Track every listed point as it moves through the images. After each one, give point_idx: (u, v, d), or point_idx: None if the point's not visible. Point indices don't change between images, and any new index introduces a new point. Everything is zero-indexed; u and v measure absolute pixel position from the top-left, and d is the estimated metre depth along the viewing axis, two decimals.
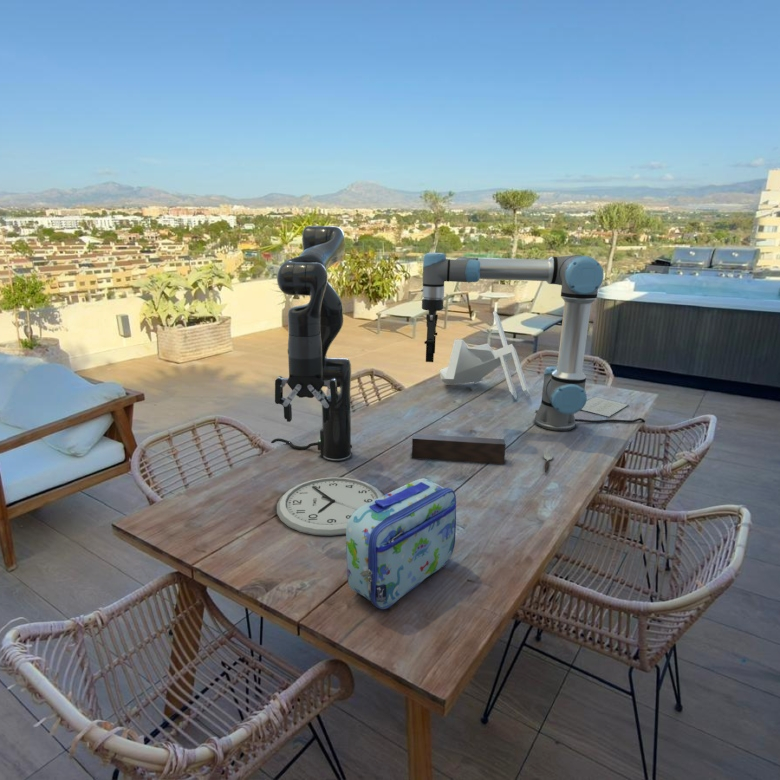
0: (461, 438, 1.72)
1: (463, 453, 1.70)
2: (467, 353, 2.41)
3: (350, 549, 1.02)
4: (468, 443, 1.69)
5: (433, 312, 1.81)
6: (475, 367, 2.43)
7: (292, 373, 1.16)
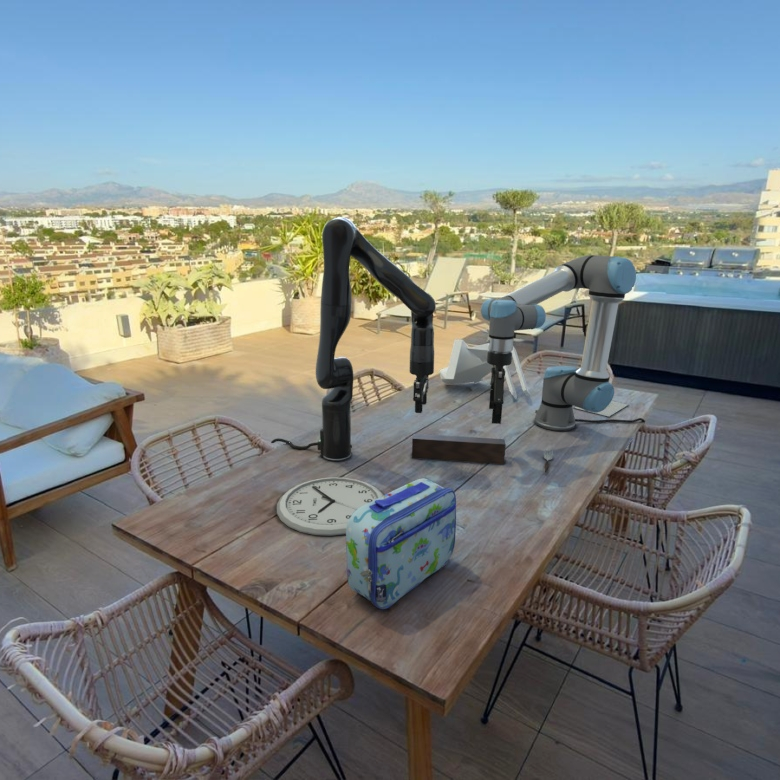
0: (461, 438, 1.72)
1: (463, 453, 1.70)
2: (467, 353, 2.41)
3: (350, 549, 1.02)
4: (468, 443, 1.69)
5: (501, 367, 1.59)
6: (475, 367, 2.43)
7: (429, 373, 1.59)
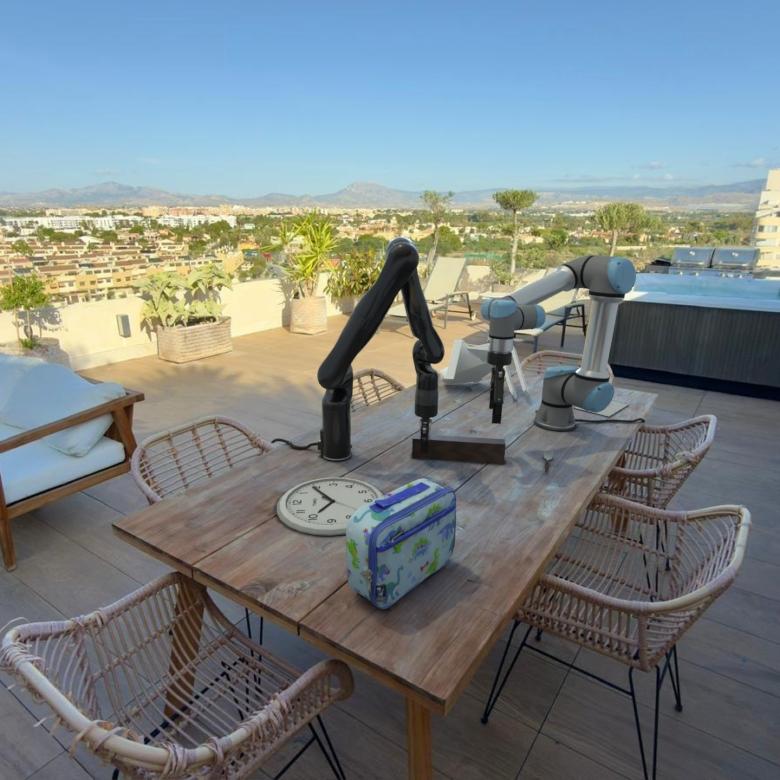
0: (461, 438, 1.72)
1: (463, 453, 1.70)
2: (467, 353, 2.41)
3: (350, 549, 1.02)
4: (468, 443, 1.69)
5: (501, 367, 1.59)
6: (475, 367, 2.43)
7: (434, 415, 1.67)
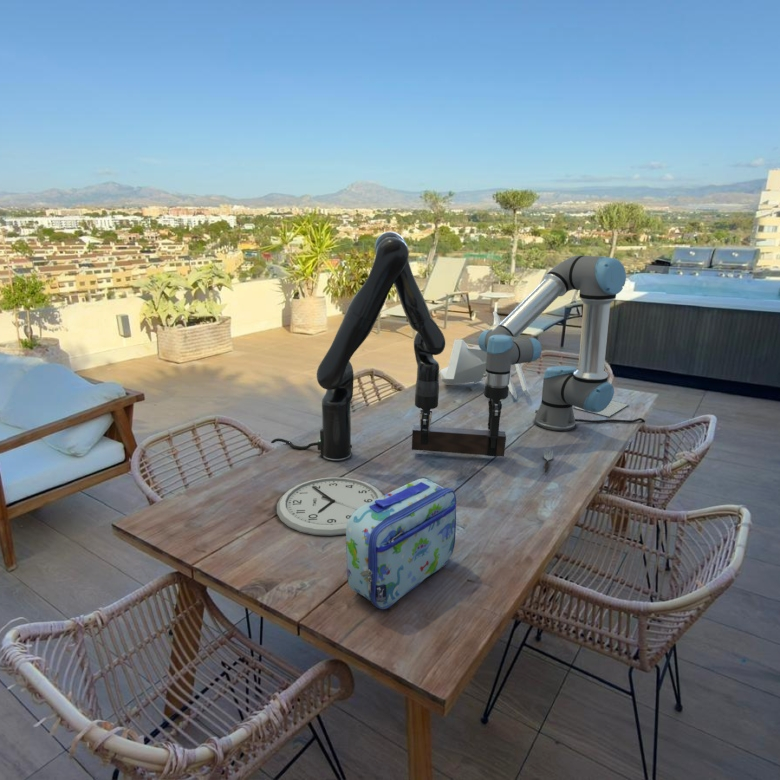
0: (461, 430, 1.71)
1: (464, 445, 1.70)
2: (467, 353, 2.41)
3: (350, 549, 1.02)
4: (469, 435, 1.68)
5: (498, 401, 1.62)
6: (475, 367, 2.43)
7: (435, 406, 1.67)
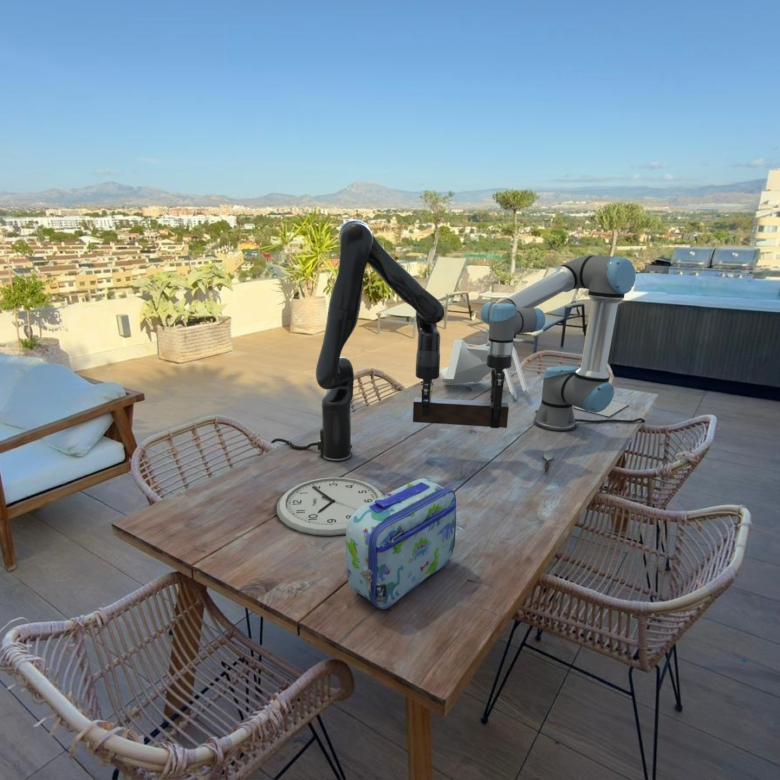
0: (463, 401, 1.68)
1: (466, 416, 1.66)
2: (467, 353, 2.41)
3: (350, 549, 1.02)
4: (471, 406, 1.65)
5: (501, 371, 1.59)
6: (475, 367, 2.43)
7: (436, 377, 1.64)
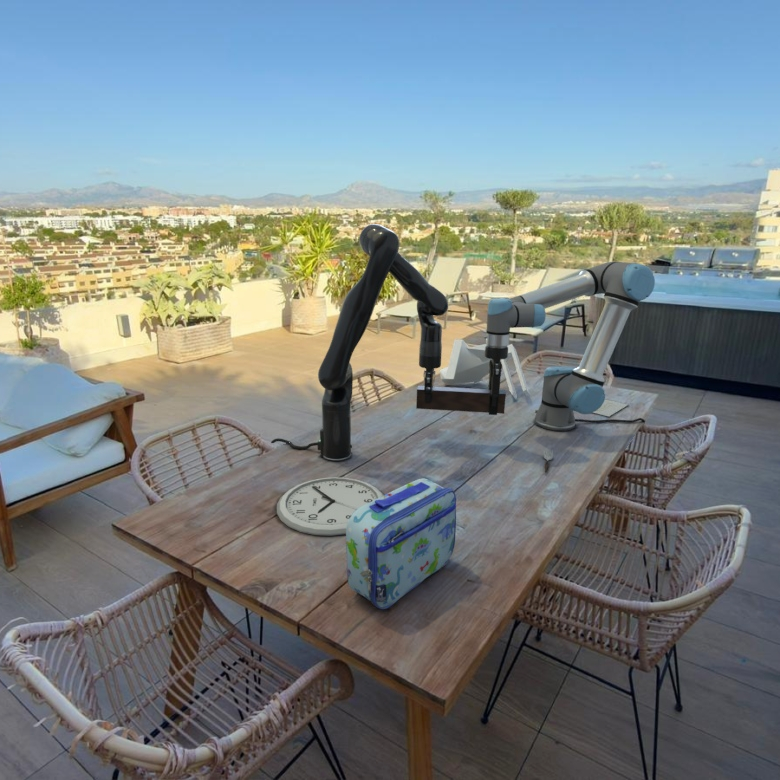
0: (463, 389, 1.80)
1: (466, 403, 1.79)
2: (467, 353, 2.41)
3: (350, 549, 1.02)
4: (470, 393, 1.77)
5: (498, 361, 1.72)
6: (475, 367, 2.43)
7: (438, 366, 1.76)
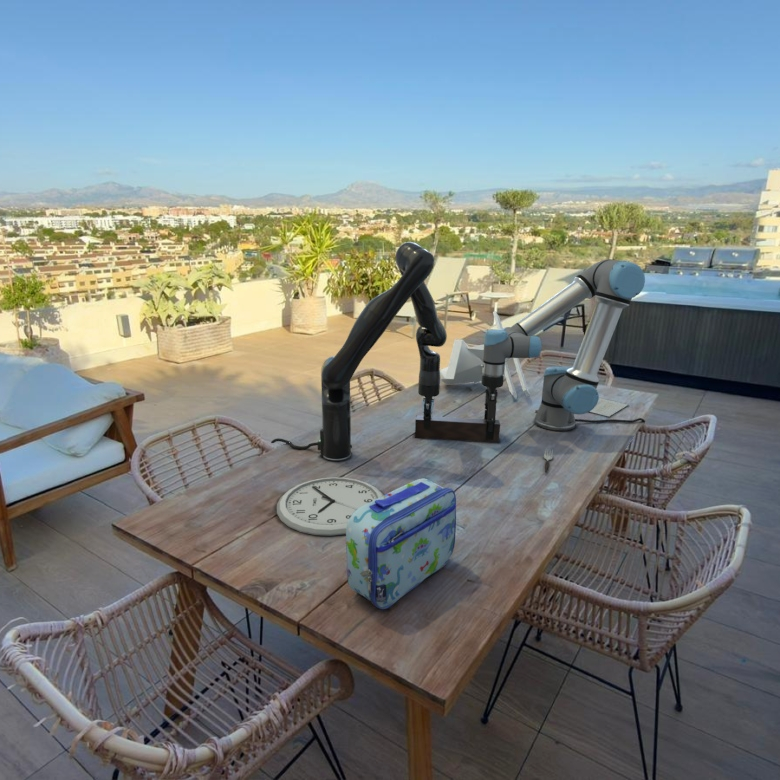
0: (460, 419, 1.89)
1: (462, 432, 1.87)
2: (467, 353, 2.41)
3: (350, 549, 1.02)
4: (466, 423, 1.86)
5: (494, 389, 1.80)
6: (475, 367, 2.43)
7: (436, 394, 1.84)
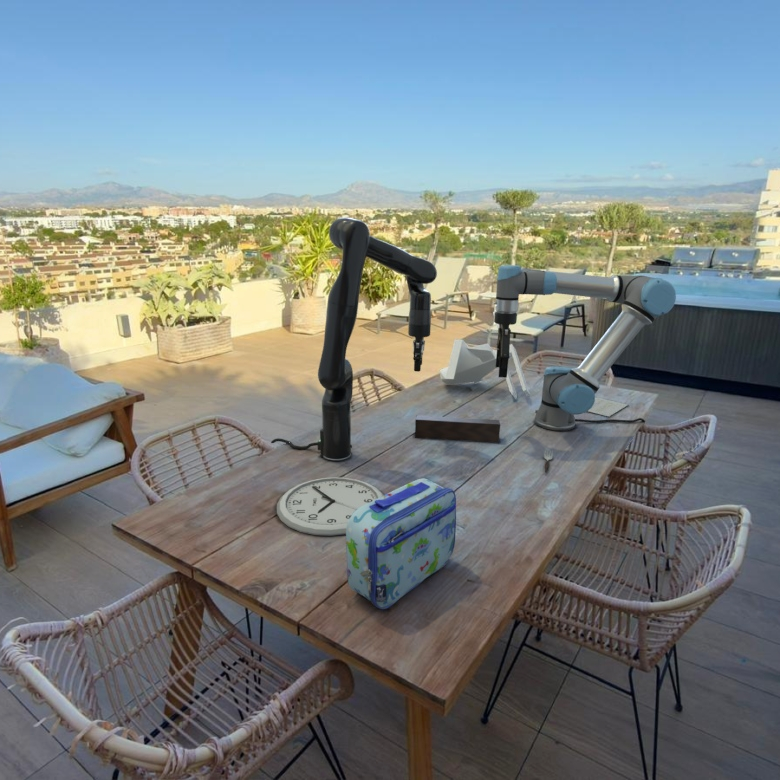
0: (460, 419, 1.89)
1: (462, 432, 1.87)
2: (467, 353, 2.41)
3: (350, 549, 1.02)
4: (466, 423, 1.86)
5: (507, 326, 1.76)
6: (475, 367, 2.43)
7: (427, 334, 1.76)
